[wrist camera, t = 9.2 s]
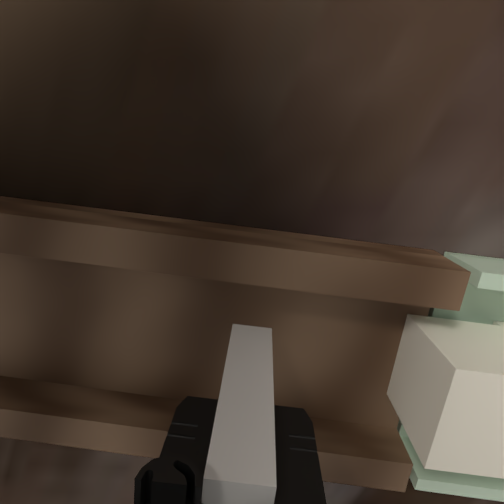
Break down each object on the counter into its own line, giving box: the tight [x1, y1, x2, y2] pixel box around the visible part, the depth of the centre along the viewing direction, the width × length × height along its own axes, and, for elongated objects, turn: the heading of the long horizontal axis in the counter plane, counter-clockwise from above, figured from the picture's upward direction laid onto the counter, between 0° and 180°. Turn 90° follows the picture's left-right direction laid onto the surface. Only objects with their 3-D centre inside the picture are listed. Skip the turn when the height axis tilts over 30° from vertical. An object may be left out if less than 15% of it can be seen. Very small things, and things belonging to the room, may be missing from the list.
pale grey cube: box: [387, 314, 504, 479], centre depth 14 cm, size 4×4×4 cm
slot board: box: [0, 196, 471, 492], centre depth 15 cm, size 20×10×3 cm, turn 83°
